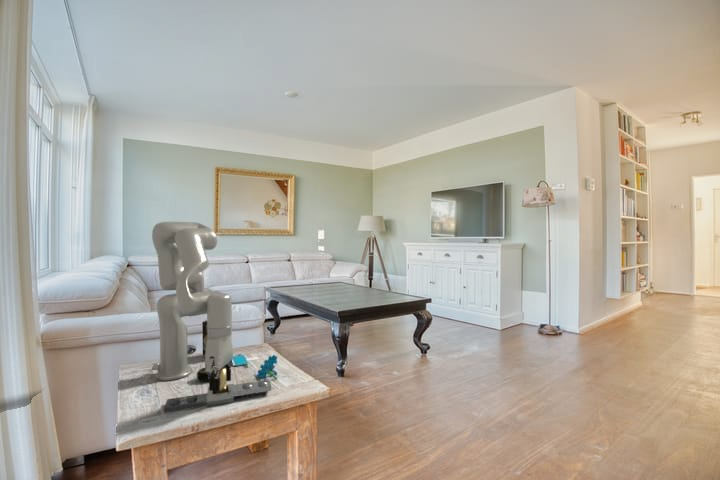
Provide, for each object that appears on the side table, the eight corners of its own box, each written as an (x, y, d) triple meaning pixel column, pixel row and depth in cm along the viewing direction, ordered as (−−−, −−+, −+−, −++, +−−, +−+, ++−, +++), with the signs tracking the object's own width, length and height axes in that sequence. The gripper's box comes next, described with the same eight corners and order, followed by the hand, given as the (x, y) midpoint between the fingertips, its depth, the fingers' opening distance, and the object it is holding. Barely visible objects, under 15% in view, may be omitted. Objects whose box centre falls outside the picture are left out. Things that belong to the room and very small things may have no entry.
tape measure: (214, 382, 129) (214, 372, 129) (194, 383, 127) (194, 373, 127) (218, 375, 135) (218, 365, 135) (200, 376, 134) (200, 367, 134)
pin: (212, 401, 113) (212, 371, 113) (218, 396, 116) (218, 366, 116) (223, 402, 112) (222, 371, 112) (228, 397, 116) (228, 367, 116)
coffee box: (201, 357, 155) (201, 321, 155) (211, 353, 162) (210, 318, 162) (219, 359, 153) (219, 322, 153) (228, 354, 160) (228, 319, 160)
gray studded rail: (163, 414, 105) (163, 402, 105) (168, 402, 113) (167, 391, 113) (271, 396, 116) (271, 385, 116) (269, 386, 124) (269, 376, 124)
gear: (254, 369, 137) (273, 349, 138) (265, 377, 139) (283, 358, 140) (257, 383, 126) (277, 362, 128) (269, 392, 129) (288, 371, 130)
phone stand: (263, 366, 145) (263, 362, 145) (233, 372, 139) (233, 368, 139) (253, 353, 163) (253, 349, 163) (226, 357, 157) (226, 353, 157)
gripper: (221, 324, 123) (222, 374, 123) (193, 338, 106) (194, 396, 106) (242, 325, 123) (242, 375, 123) (217, 339, 105) (218, 397, 105)
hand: (220, 384), depth 114 cm, fingers open, 7 cm apart
